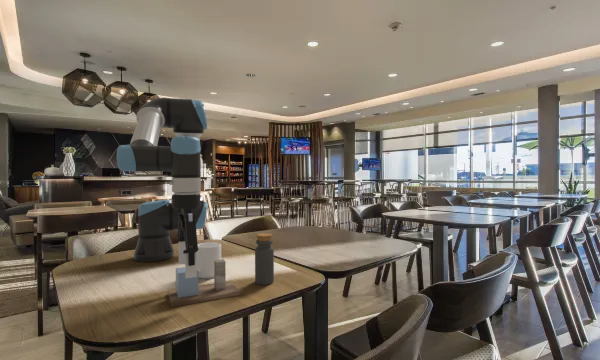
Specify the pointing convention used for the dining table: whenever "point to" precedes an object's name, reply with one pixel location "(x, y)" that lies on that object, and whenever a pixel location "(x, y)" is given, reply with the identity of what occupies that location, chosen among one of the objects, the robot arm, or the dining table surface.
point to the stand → (208, 288)
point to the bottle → (264, 260)
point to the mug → (207, 258)
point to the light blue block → (186, 284)
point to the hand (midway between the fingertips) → (187, 270)
